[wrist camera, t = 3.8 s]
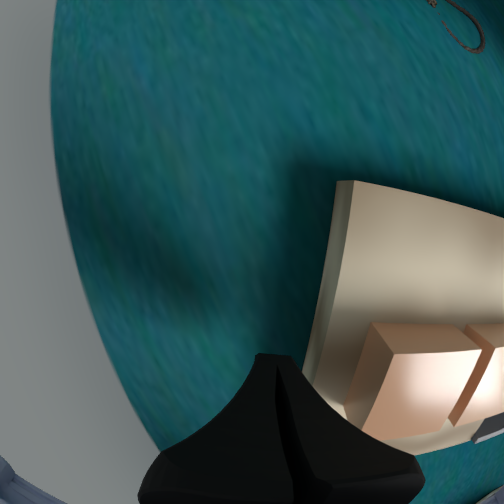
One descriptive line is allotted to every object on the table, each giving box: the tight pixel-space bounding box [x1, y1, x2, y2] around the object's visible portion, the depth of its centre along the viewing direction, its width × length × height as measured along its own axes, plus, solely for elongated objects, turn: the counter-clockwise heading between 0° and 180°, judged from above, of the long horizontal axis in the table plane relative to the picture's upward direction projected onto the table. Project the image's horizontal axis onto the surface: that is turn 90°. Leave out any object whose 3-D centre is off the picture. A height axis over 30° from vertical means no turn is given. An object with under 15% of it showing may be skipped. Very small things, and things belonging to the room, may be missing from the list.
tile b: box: [448, 323, 504, 427], centre depth 10 cm, size 4×4×2 cm
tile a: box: [343, 322, 482, 441], centre depth 10 cm, size 4×4×2 cm
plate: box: [302, 180, 504, 455], centre depth 12 cm, size 15×14×2 cm
